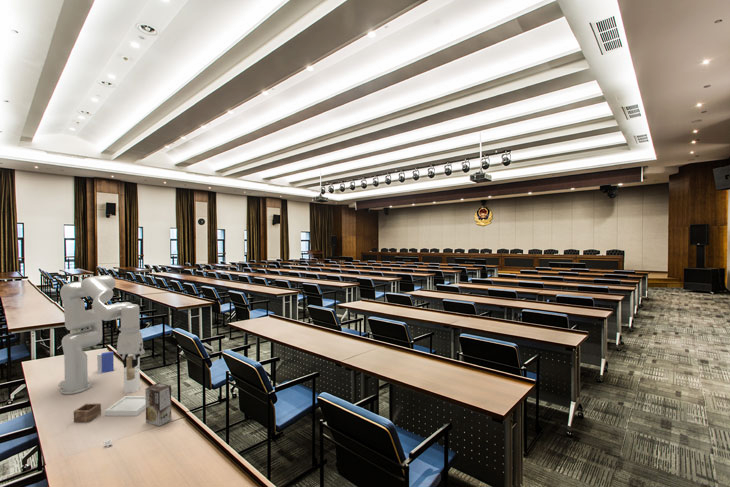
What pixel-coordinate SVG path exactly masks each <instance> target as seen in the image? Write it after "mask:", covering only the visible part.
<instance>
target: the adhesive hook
mask: <svg viewBox="0 0 730 487" xmlns="http://www.w3.org/2000/svg"><path fill="white" fill-rule="evenodd" d="M103 443H104V444H103V447H107V448H109V446H113V441H112V439H111V438H107V439H105V440H104V441H103Z"/></svg>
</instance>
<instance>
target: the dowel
mask: <svg viewBox="0 0 730 487" xmlns="http://www.w3.org/2000/svg"><path fill="white" fill-rule="evenodd" d="M132 360H133V356H128V357H126V366H127V380H133V379H135V367H134V368H132Z"/></svg>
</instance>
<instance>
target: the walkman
mask: <svg viewBox="0 0 730 487" xmlns="http://www.w3.org/2000/svg"><path fill="white" fill-rule="evenodd" d="M96 356H97V359H96V360H97V375H99V374H105V373H110V371H111V372H114V369H115V366H114V359H115V358H114V350H113V351H112V350H111V351H110V350H109V351H106V352H100V353H98V354H97V355H96Z"/></svg>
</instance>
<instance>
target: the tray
mask: <svg viewBox="0 0 730 487" xmlns="http://www.w3.org/2000/svg"><path fill="white" fill-rule="evenodd" d="M144 411H146V397H145V395H125V396H123V397H121V398H120V399H119V400H117V401H116V402H115V403H113V404H112V405H111V406H109V407H108V408H106V409H105V410H104V416H107V417H108V416H109V417H111V416H112V417H113V416H114V417H115V416H116V417H117V416H118V417H120V416H122V417H138V416H139V415H140V414H141V413H142V412H144Z"/></svg>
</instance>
